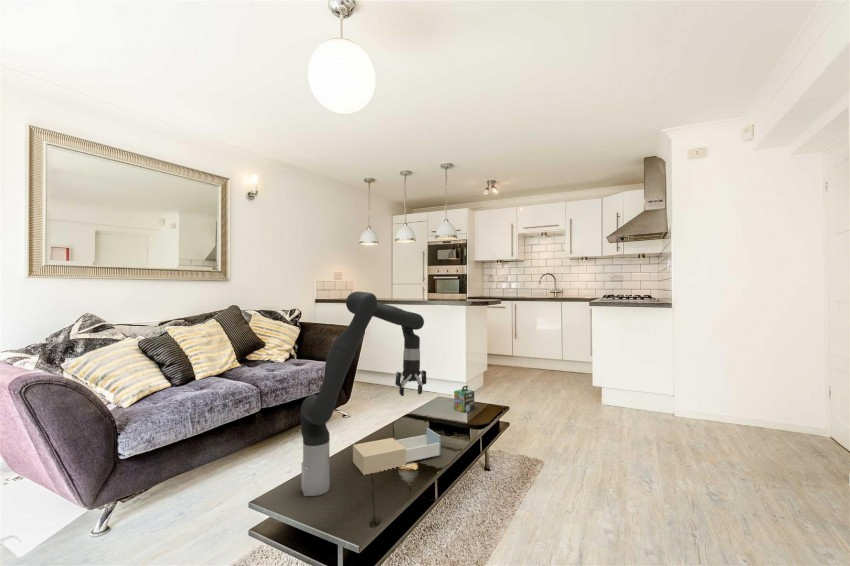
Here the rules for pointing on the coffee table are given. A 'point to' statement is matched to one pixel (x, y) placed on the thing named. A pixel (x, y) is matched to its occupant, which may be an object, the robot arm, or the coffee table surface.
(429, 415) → the coffee table surface
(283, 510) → the coffee table surface
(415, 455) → the inner tray
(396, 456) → the sleeve
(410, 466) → the coffee table surface
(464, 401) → the chalk box
